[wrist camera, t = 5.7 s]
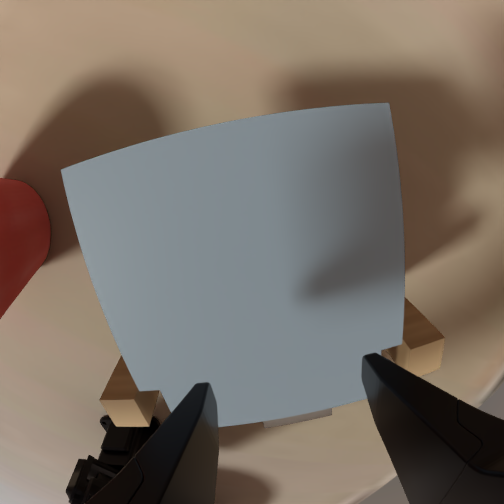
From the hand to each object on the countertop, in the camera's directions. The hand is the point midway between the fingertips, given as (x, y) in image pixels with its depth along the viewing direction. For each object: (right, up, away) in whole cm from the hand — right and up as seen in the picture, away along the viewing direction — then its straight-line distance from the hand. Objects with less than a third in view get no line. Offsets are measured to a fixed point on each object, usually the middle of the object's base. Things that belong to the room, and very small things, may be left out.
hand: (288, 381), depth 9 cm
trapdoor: (-1, +3, +6) cm, 6 cm away
